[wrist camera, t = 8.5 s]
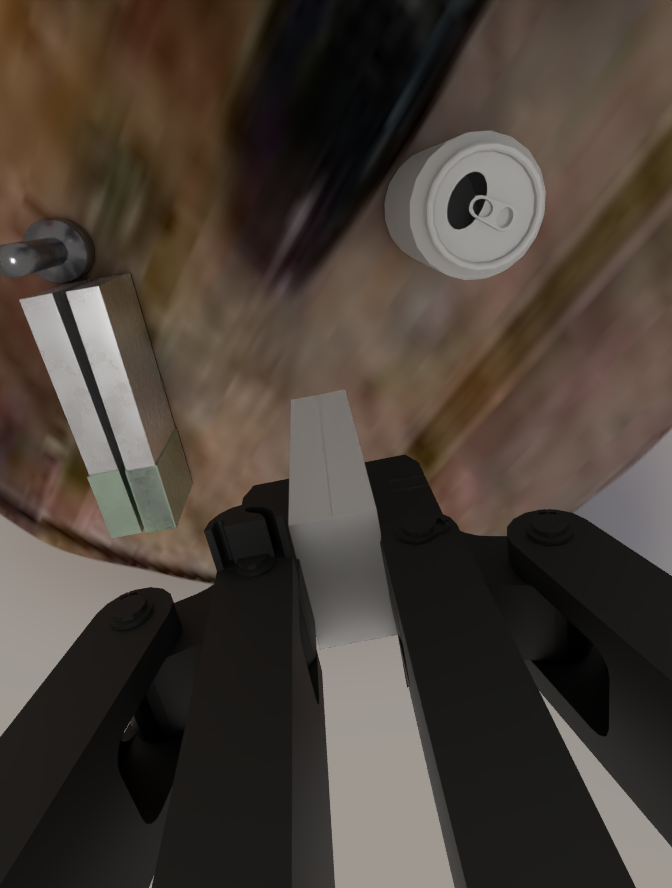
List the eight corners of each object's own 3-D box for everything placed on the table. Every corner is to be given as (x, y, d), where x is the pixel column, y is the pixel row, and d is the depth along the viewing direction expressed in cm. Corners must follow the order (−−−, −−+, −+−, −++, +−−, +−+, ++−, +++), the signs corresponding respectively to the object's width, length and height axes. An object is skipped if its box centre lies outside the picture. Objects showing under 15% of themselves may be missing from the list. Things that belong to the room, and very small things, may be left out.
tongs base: (25, 224, 39) (-42, 230, 31) (83, 213, 39) (29, 216, 31) (126, 493, 47) (93, 550, 40) (173, 484, 47) (149, 540, 40)
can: (410, 127, 38) (456, 98, 27) (506, 175, 40) (586, 165, 29) (365, 237, 41) (391, 250, 30) (457, 278, 42) (514, 305, 31)
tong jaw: (100, 277, 40) (63, 292, 34) (131, 272, 40) (100, 285, 34) (166, 487, 47) (145, 532, 41) (192, 483, 47) (176, 527, 41)
